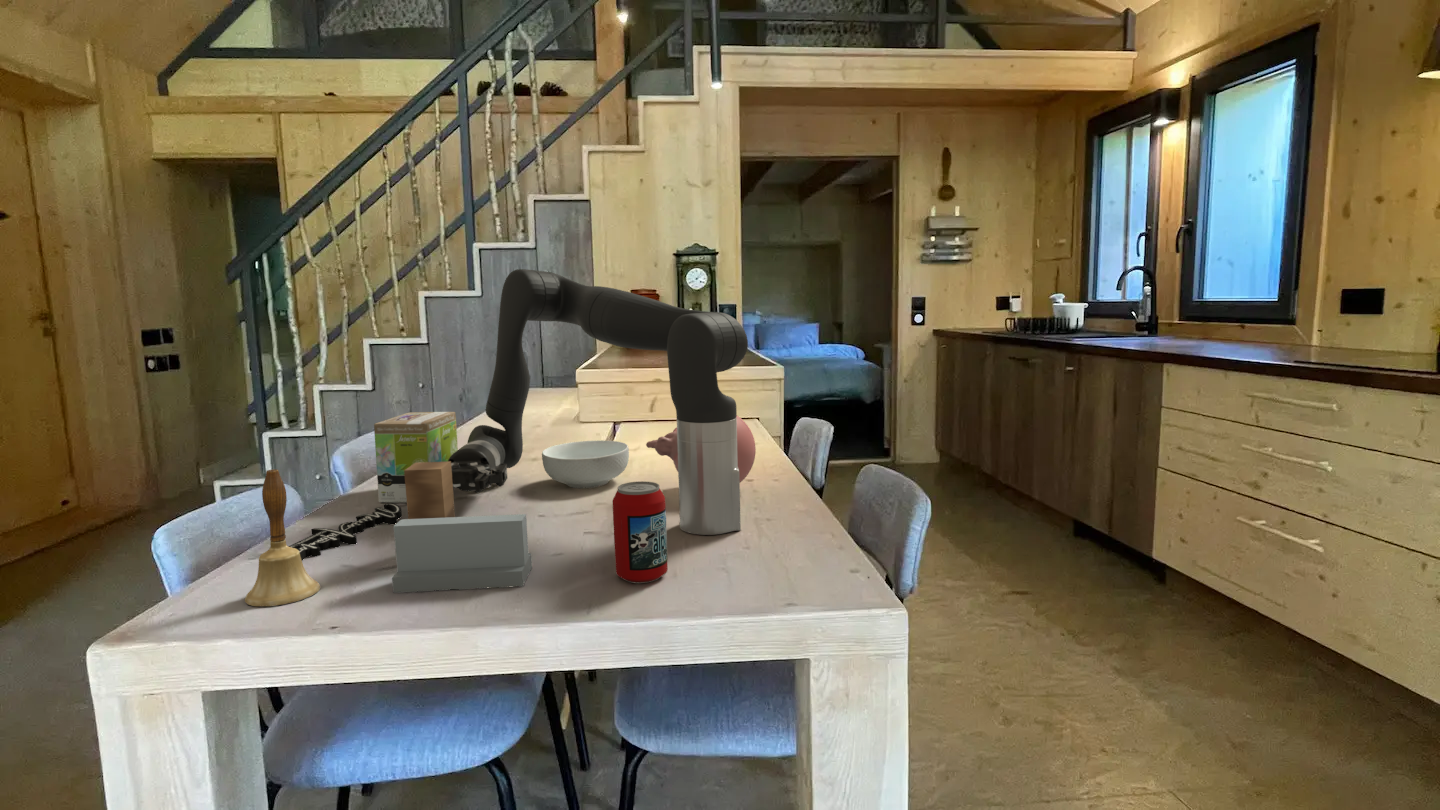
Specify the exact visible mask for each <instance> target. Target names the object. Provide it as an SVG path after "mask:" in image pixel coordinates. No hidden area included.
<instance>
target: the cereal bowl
mask: <svg viewBox="0 0 1440 810" xmlns="http://www.w3.org/2000/svg"><path fill="white" fill-rule="evenodd" d="M629 451H630V448H629V446H628V444H627V443H625V442H622V441H617V440H616V441H615V440H604V439H603V440H583V441H582V440H581V441H572V442H571V441H570V442H565V443H561V444H556V445H552V446H549V447H547V448H545V449H543V450H542V451H541V452H542V453H541V459H542V464H543V465H542V466H543V469H544V471H545V472H546V474H547V475H548V476H549V477H550V478H551V479H552V480H554V481H556V482H559V483H562V484H565V485H567V487H570V488H573V489H592V488H593V489H594V488H599V487H602V486H605V485H607V484H608V483H609V481H611V480H613V479H615V478H617V477H619V476H620V475H621V474H622V473H623V472H624V471H625V470H626V468H627V467H628V464H629V458H630V452H629Z"/></svg>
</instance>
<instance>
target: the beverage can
mask: <svg viewBox="0 0 1440 810" xmlns="http://www.w3.org/2000/svg"><path fill="white" fill-rule="evenodd" d="M666 506H667V505H666V497H665V495H664V492H662V489H661V488H660V484H658V483H657V482H654V481H645V480H644V481H642V480H641V481H631V482H630V481H629V482H625V483H621V484H619V485H618V486H617V489H616V492H615V494H614V497H613V499H612V519H613V520H612V521H613V523H612V524H613V541H614V542H613V544H614V545H613V547H614V561H615V574H616V575H617V576H618V577H619V578H620V579H623V580H624V581H626V582H628V583H633V584H646V583H651V582H654V581H657V580H659V579H660V578H661V577H663V575H665V574H666V573H667V572H668V539H667V537H668V536H667V535H668V534H667V532H668V530H667V513H666V512H667V511H666V510H667V509H666V508H667V507H666Z"/></svg>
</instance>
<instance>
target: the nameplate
mask: <svg viewBox="0 0 1440 810" xmlns="http://www.w3.org/2000/svg"><path fill="white" fill-rule="evenodd" d="M401 516H403V515H402V507H401V506H400V505H399V504H397V503H390V502H388V503H386V504H383V507H375V508H374V511H373V512H372V513H363V514H360V515H357V516H355V520H356V521H347V522H343V523H341V524H339V525H338V529H337V530H336V529H331V528H325V527H315V528H311V531H310V532H311V535H309V536H307V537H305V538H303V539H301V540H299V541H297V542H295V543H292V544H291V545H288V546H289V547H291V548H295V549H297V550H299V552H300V557H301V560H302V561H304V560H305V559H306V558H309V556H310V557H313V558H315V556H316V557H319V556H322V554H321V551H322V552H323V551H327V550H329V549H331V548H332V549H336V548H335V547H337V548H340V547H341V543H343V542H344V543H343V544H346V543H348V544H347V545H350V544H355V545H357V544H358V538H357V537H358V536H357V535H356V534H358V532H360V533H363V532H364V530H366V529H369V528H370V527H372V528H375V527H376V526H377V525H378V524H379V525H383V524H386V523H388V524H387V525H390V524H394V525H396V524H395V523H398V520H399V519H398V518H400V517H401ZM401 518H402V517H401ZM401 518H400V519H401ZM383 522H384V523H383ZM376 524H377V525H376ZM379 525H378V526H379ZM355 533H356V534H355ZM356 543H357V544H356ZM339 546H340V547H339ZM303 559H304V560H303Z"/></svg>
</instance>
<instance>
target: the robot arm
mask: <svg viewBox="0 0 1440 810" xmlns="http://www.w3.org/2000/svg"><path fill="white" fill-rule="evenodd" d="M503 283H504V284H503V286H502V289H501V295H500V296H501V297H500V305H499V317H498V318H499V319H498V326H497V340H496V341H497V344H496V345H497V346H496V354H495V356H496V357H495V358H496V359H495V366H494V370H493V377H492V380H491V384H490V389H489V393H488V397H487V400H486V404H485V413H486V416H487V417H488V418H489V419H490V420H492V421H493V422H495V423H497V424H498V425H500V426H501V427H502V428H504V430H503V429H500V428H497V427H494V426H491V425H486V424H480V425H477V426H475V427H474V428H473V429H472V431H471V432H470V434H469V436H468V439H467V443H465V444H464V445H462V447H460V448H458V450H457V451H456V452H455V453H453V454H452V455H451V457H450V458H449V460H448V461H451V469H452V482H453V488H456V489H459V490H460V491H463V492H475V493H481V492H483V490H486V489H487V488H491V487H492V485H493V484H495V486H496V487H502V486H504V484H505V483H506V482H507V480H508V469H511V468H513V467H515V466H516V465H517V464H518V463H519V462H520V460H521V458H522V456H523V452H524V451H523V450H524V449H523V448H524V447H523V444H524V443H523V442H524V441H523V430H522V427H523V417H524V416H523V415H524V410H525V407H526V403H527V399H528V396H529V392H530V384H531V375H530V371H529V370H530V369H529V367H528V363H527V361H526V358H525V353H524V350H523V349H524V347H523V335H524V330H525V328H526V327H525V326H526V325H527V322H528V321H533V322H558V323H560V322H561V323H567V324H573V325H577V326H579V327H581V330H583V332H584V333H586V335H588V336H589V337H591V338H592V339H595V340H597V341H600V342H603V343H606V344H610V345H612V346H616V347H621V348H623V349H624V348H625V349H633V350H634V349H635V350H643V351H644V350H646V351H665V352H666V353H667V365H668V378H669V380H668V381H669V389H670V396H671V400H672V403H673V405H674V409H675V412H676V413H675V414H676V427H677V445H678V471H677V473H678V475H677V476H678V502H679V503H678V505H679V514H678V515H679V517H678V518H679V528H680V529H681V530H682V531H684V532H685V533H688V534H691V535H692V534H694V535H704V536H705V535H706V536H710V535H713V536H714V535H721V534H726V533H730V532H735V531H741V530H742V529H741V492H740V491H741V488H740V485H741V482H740V477H739V469H738V459H737V416H738V414H737V411H738V410H737V403H736V400H735V399H734V398H733V397H731V396H729V395H726V394H724V393H723V392H722V391H721V390H720V387H719V383H718V373H722V372H725V371H728V370H731V369H732V368H734V367H736V366H737V365H739V364H740V363H741V362H742V360H743V359H744V358H745V355H746V354H747V352H748V347H749V346H748V345H749V343H748V337H747V336H748V335H747V333H746V331H745V329H744V327H743V325H742V324H741V323H740V322H739V321H738V320H737V319H736V318H734V317H733V316H731V315H730V314H727V313H724V312H720V311H719V312H717V311H703V310H696V309H689V308H682V307H678V306H675V305H672V304H669V303H667V302H666V303H665V302H663V301H660V300H657V299H654V298H650V297H647V296H644V295H641V294H637V293H633V292H630V291H626V290H622V289H618V288H613V287H606V286H597V285H594V286H592V285H585V284H582V283H579V282H577V281H574V280H572V279H569V278H568V277H565V276H562V275H560V274H558V273H555V272H550V271H543V270H536V269H524V268H522V269H521V268H517V269H513V270H512V271H510V272H509V274H508V275H507V277H506V278H505V280H504V282H503Z"/></svg>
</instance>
